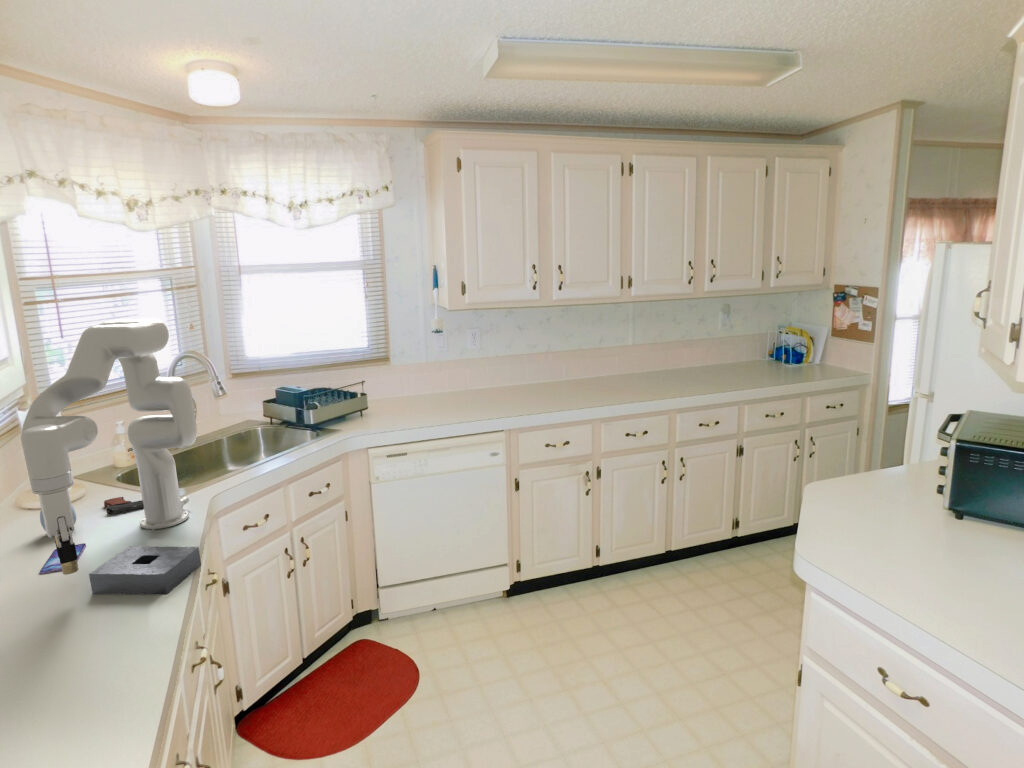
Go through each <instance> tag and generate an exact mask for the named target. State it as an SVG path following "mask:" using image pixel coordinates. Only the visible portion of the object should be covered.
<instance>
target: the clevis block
mask: <svg viewBox="0 0 1024 768" xmlns="http://www.w3.org/2000/svg"><path fill="white" fill-rule="evenodd" d="M200 554H201V553H200V548H199V546H153V545H152V546H150V545H149V546H136V545H135V546H134V545H133V546H132V545H131V546H128V547H126V549H123V550H122V551H120V552H119V553H118V554H116V555H115V556H114V557H111V558H110V559H109V560H107V561H106V562H104V563H103V564H101V565H100V566H99V567H97V568H95V569H94V570H92V571H91V572H89V573H88V577H89V582H90V588H91V594H92V595H139V596H140V595H143V596H144V595H148V596H149V595H150V596H151V595H155V596H156V595H157V596H158V595H161V596H164V595H165V596H168V594H170V592H172V591H173V590H175V588H177V587H178V586H179V585H180V584H181V583H182V582H184V581H185V580H186V579H187V578H188V577H189V576H191V575H192V574H193V573H194V572H196V570H198V569H199V568H200V567H201V566H202V562H201V561H202V559H201V555H200Z"/></svg>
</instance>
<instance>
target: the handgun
mask: <svg viewBox="0 0 1024 768" xmlns="http://www.w3.org/2000/svg"><path fill="white" fill-rule="evenodd" d="M103 505H104V506H103V507H104V509H106V508H107V509H106V513H107V515H110V516H111V515H116V514H121V513H122V512H123V513H126V512H132V511H137V510H140V509H142V510H143V509H144V506H143V500H136V501H131V500H126V499H125V498H124V496H119V497H113V498H110V499H106V500H104V501H103Z"/></svg>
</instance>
